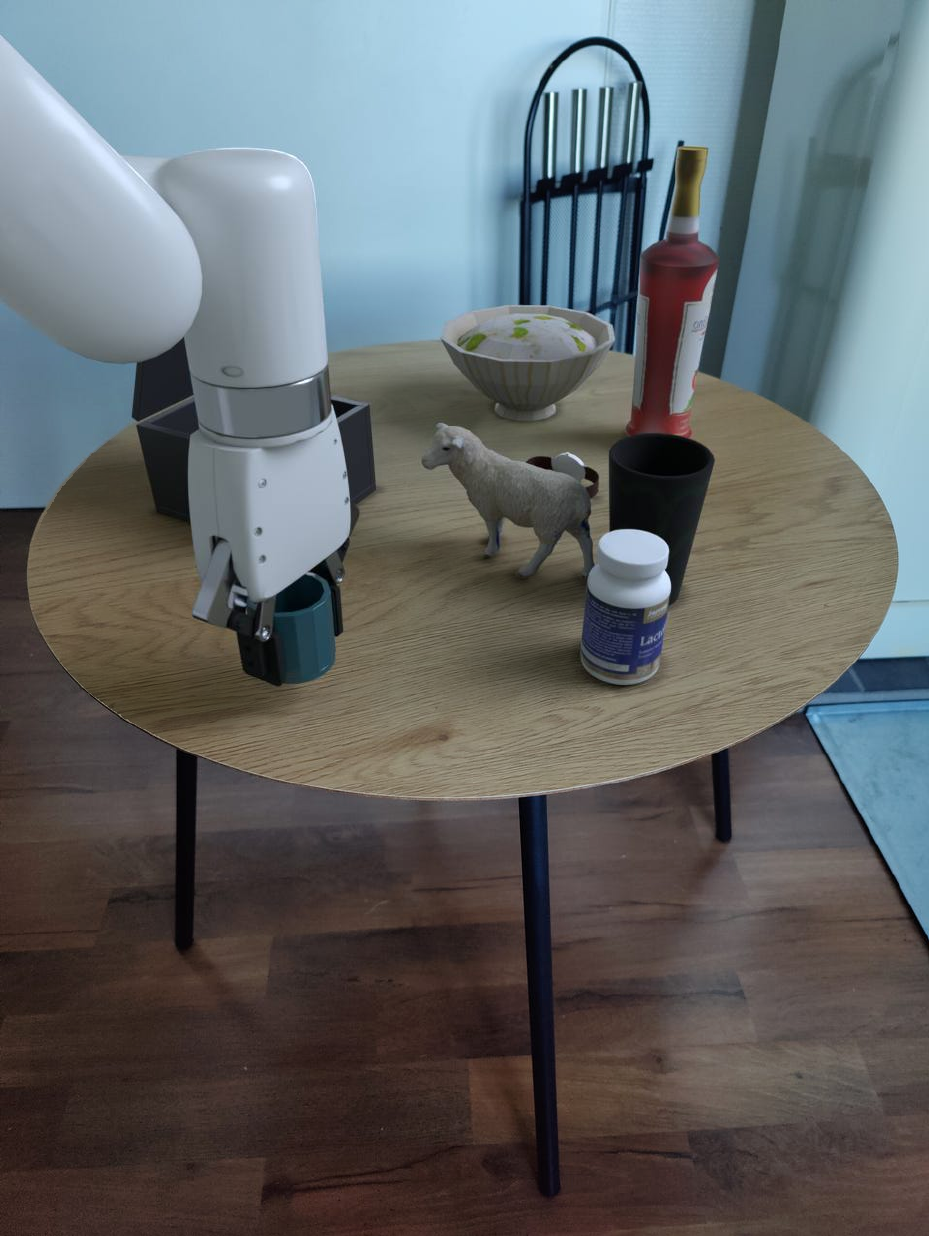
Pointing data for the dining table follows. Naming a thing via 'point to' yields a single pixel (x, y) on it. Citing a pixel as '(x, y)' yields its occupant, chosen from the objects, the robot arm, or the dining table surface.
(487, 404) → the dining table surface
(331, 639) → the creamer cup
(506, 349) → the bowl
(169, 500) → the dark gray hinged chest
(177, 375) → the chest lid
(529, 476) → the figurine
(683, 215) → the liquor
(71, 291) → the robot arm
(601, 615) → the pill bottle
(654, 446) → the cup
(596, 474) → the watch
